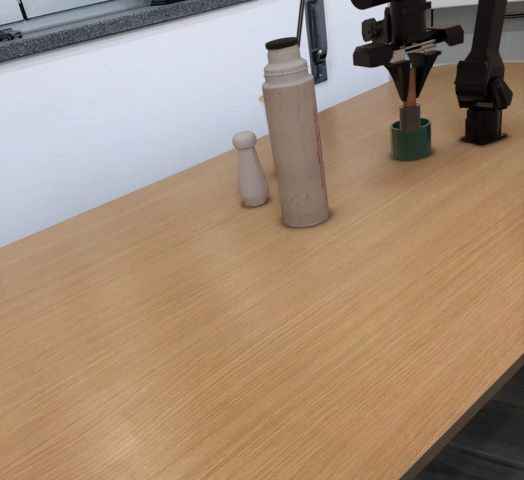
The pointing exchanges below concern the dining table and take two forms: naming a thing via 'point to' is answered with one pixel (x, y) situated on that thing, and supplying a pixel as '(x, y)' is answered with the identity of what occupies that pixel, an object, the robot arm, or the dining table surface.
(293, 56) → the thermos bottle
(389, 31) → the robot arm
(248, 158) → the salt shaker
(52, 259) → the dining table surface
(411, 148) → the enamel cup
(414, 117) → the wooden peg on base
